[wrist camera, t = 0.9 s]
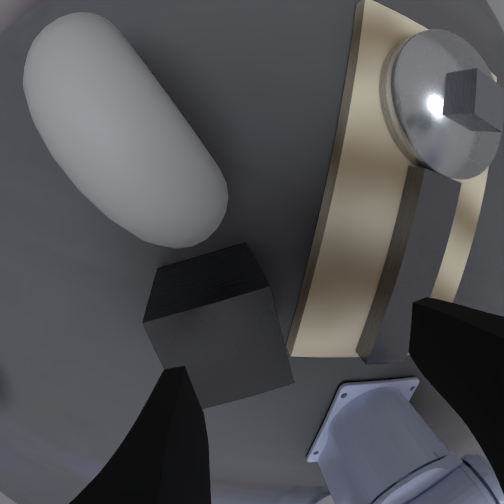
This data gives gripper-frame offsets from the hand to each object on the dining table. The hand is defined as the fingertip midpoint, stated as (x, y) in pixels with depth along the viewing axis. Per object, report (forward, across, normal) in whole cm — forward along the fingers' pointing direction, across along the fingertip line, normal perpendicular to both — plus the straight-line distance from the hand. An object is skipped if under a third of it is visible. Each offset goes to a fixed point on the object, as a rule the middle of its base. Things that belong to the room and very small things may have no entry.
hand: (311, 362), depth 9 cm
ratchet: (+8, -10, -2) cm, 14 cm away
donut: (+10, +4, -8) cm, 13 cm away
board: (+10, -10, -2) cm, 14 cm away
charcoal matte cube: (+10, +3, +2) cm, 10 cm away
